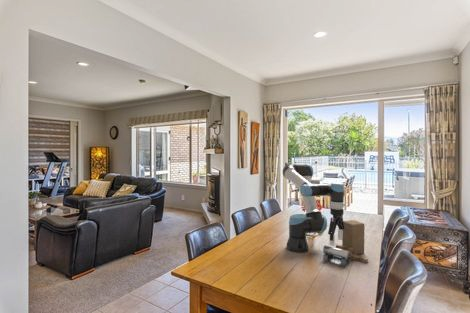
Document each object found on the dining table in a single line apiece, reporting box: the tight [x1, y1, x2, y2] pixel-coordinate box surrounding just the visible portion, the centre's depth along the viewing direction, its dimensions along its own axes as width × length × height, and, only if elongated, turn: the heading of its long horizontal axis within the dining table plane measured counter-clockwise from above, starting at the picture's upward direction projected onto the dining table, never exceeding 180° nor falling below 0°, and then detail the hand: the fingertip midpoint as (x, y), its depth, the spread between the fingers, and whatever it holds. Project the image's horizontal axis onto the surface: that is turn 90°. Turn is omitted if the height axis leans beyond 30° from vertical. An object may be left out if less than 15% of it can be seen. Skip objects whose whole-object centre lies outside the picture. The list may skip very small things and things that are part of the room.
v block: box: [322, 253, 351, 268], centre depth 162 cm, size 13×9×4 cm
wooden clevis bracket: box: [333, 244, 369, 264], centre depth 168 cm, size 20×11×5 cm, turn 49°
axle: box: [322, 245, 349, 259], centre depth 162 cm, size 14×5×5 cm, turn 49°
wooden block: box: [341, 219, 365, 255], centre depth 179 cm, size 10×10×20 cm
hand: (336, 242), depth 162 cm, fingers open, 13 cm apart
